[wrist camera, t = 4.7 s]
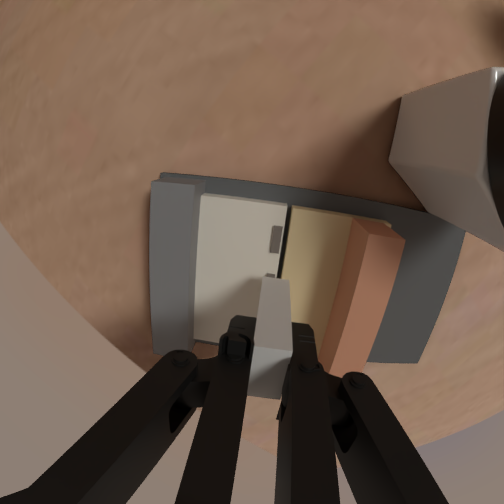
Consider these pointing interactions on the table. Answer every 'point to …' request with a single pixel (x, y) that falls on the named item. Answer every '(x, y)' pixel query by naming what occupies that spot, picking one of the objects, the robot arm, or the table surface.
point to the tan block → (340, 281)
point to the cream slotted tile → (207, 260)
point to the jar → (456, 151)
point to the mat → (409, 271)
